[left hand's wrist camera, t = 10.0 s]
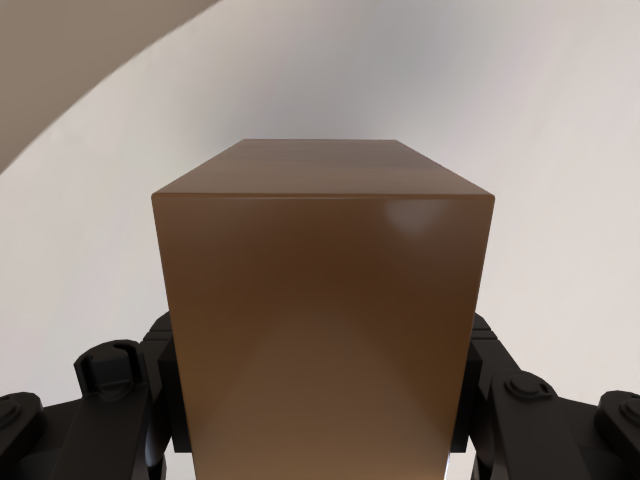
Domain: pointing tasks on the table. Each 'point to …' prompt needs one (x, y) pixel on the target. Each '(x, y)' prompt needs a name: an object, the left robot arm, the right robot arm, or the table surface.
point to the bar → (321, 307)
